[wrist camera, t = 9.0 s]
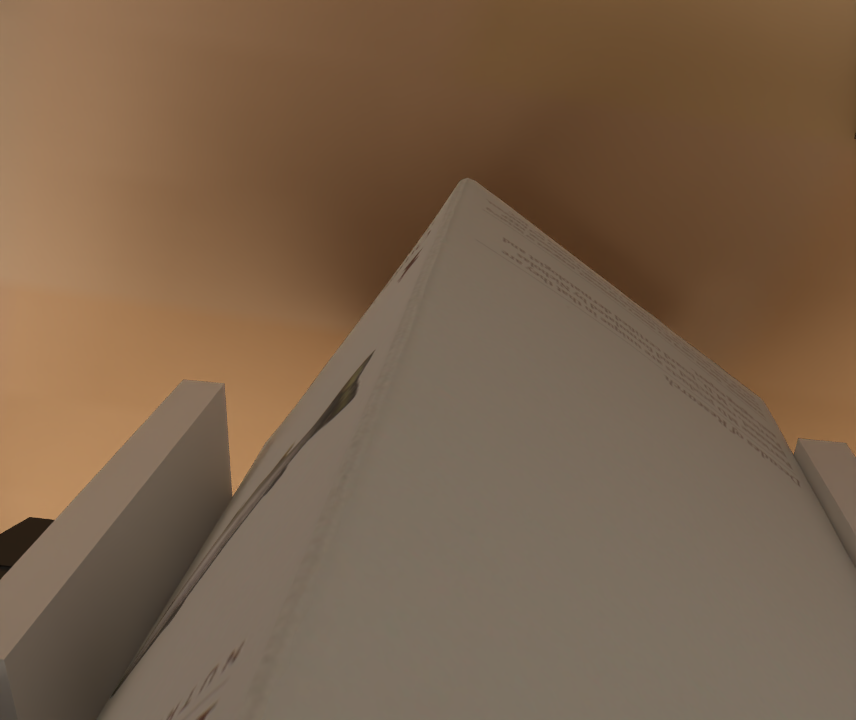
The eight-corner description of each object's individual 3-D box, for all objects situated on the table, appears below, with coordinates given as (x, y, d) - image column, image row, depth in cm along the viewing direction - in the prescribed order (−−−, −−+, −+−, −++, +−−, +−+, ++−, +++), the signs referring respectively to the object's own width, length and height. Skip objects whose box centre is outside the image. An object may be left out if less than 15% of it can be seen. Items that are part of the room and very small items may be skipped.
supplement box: (465, 160, 14) (183, 837, 3) (772, 399, 15) (1460, 1567, 4) (254, 438, 17) (-303, 1324, 6) (526, 622, 18) (513, 1661, 7)
